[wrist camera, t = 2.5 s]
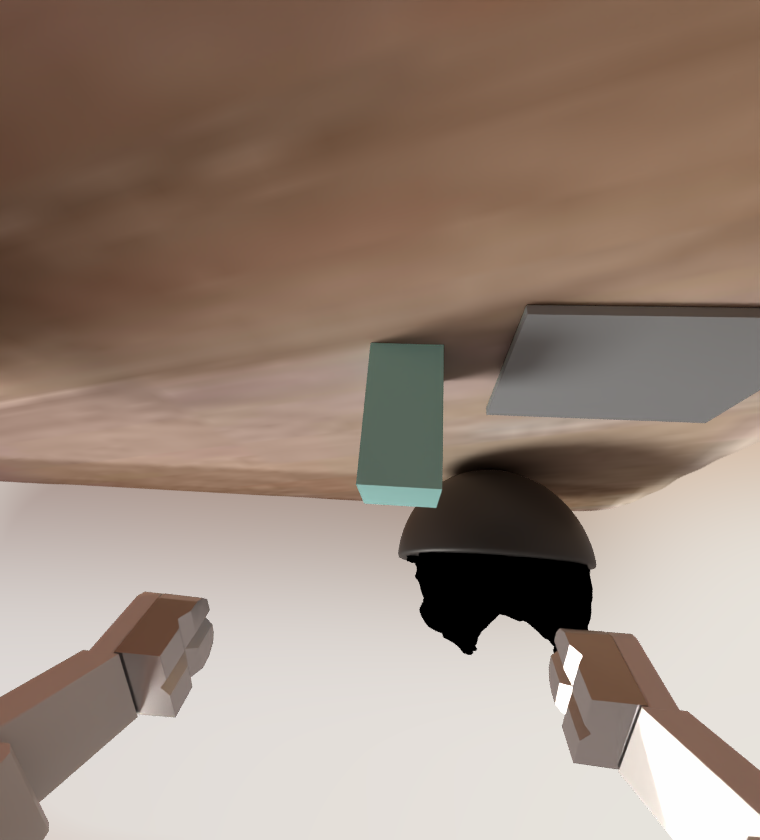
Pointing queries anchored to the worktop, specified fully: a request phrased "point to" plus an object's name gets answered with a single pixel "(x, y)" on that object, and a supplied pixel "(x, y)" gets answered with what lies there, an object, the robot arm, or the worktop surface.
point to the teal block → (402, 426)
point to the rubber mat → (629, 363)
